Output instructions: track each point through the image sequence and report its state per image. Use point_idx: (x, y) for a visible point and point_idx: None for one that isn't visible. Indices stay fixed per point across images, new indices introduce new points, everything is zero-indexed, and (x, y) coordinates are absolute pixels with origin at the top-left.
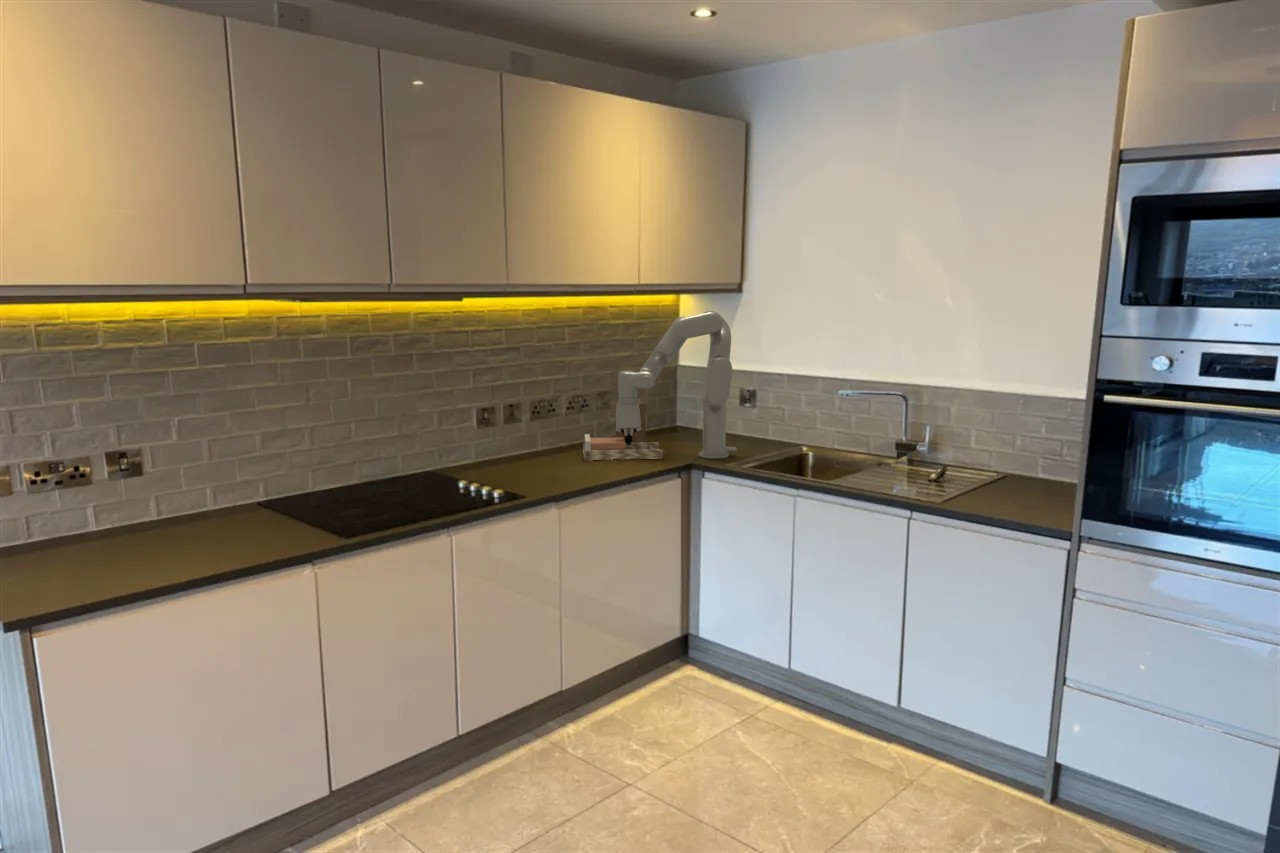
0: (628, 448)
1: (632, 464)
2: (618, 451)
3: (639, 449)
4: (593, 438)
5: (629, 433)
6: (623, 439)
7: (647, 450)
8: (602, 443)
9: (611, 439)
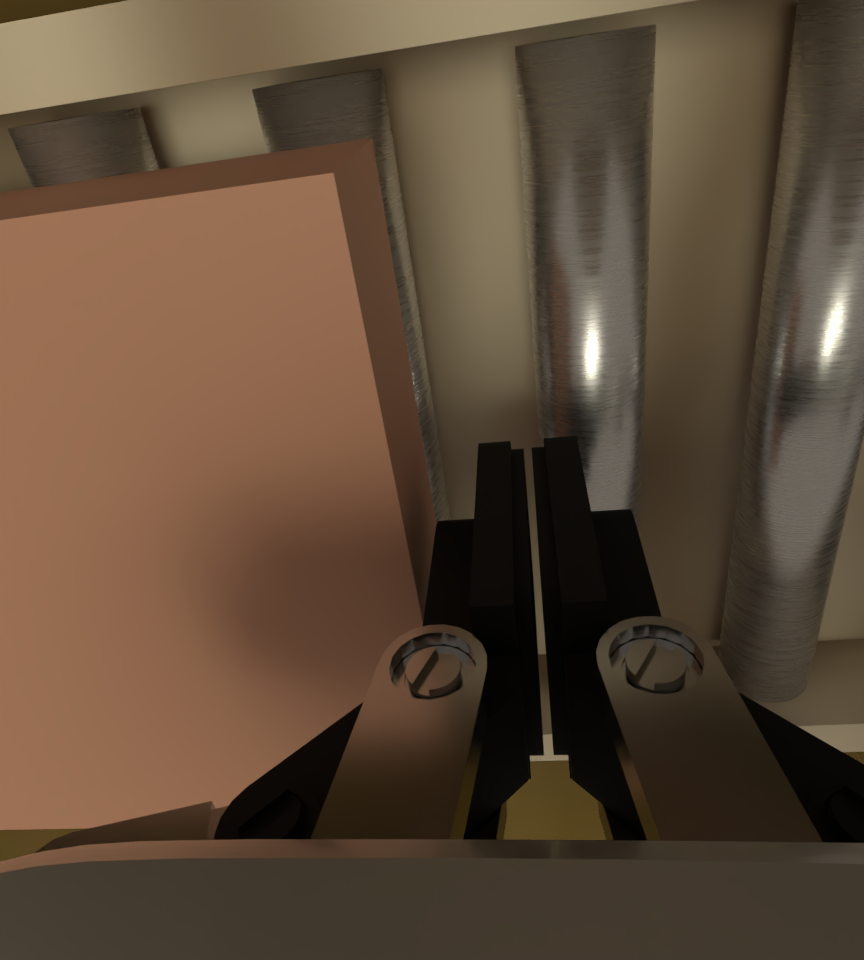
0: (524, 29)
1: (557, 800)
2: None
3: (754, 497)
4: None
5: (585, 739)
6: (385, 514)
7: (853, 747)
8: (36, 827)
9: (48, 519)
